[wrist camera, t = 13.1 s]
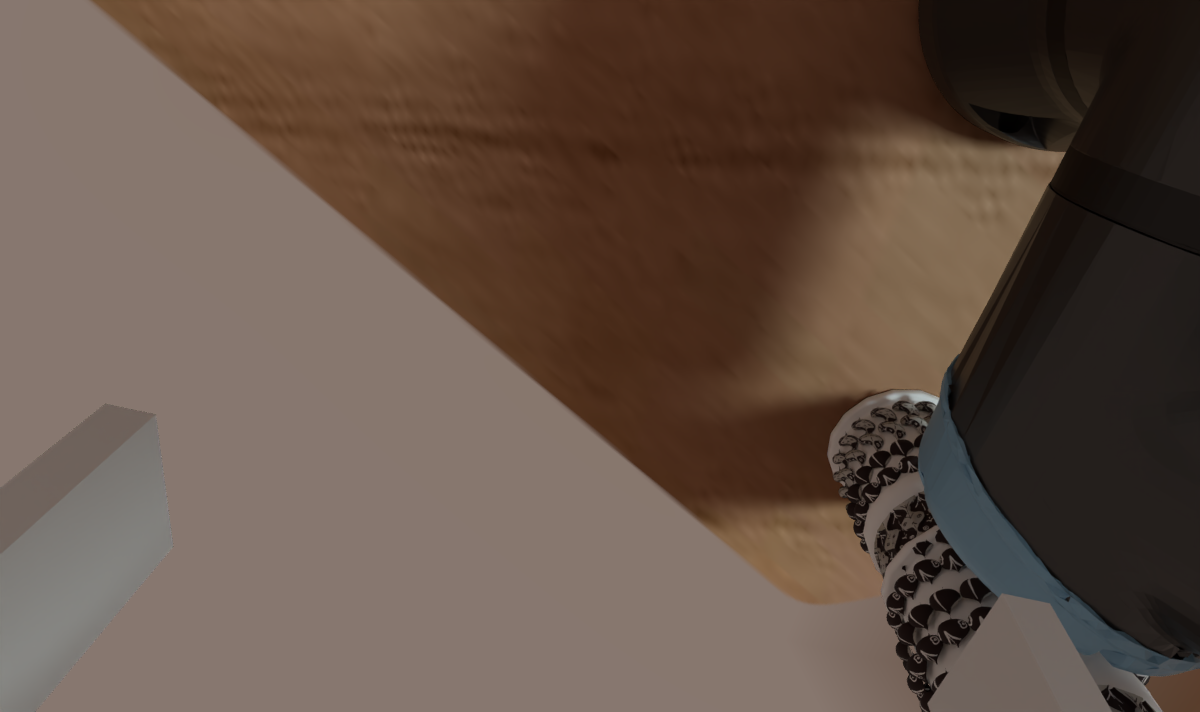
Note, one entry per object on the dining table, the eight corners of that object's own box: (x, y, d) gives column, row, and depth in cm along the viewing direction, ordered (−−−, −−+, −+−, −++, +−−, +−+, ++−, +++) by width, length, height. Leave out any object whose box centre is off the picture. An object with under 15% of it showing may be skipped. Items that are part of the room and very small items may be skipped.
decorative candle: (858, 523, 50) (1036, 967, 28) (795, 426, 46) (942, 845, 24) (990, 465, 47) (1305, 906, 25) (935, 358, 44) (1242, 758, 22)
